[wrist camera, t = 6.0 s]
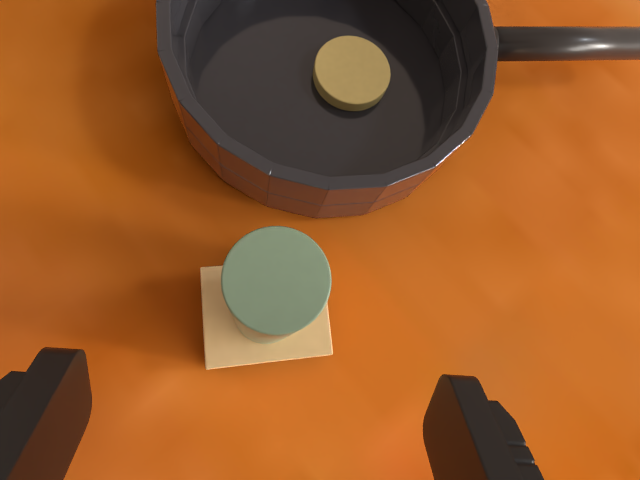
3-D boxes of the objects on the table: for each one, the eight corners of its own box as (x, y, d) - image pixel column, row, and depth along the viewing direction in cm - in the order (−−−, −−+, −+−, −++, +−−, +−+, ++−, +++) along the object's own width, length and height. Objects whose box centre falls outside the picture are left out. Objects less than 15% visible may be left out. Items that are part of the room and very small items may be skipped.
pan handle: (470, 68, 24) (486, 48, 22) (465, 40, 24) (479, 18, 22) (652, 65, 25) (678, 46, 24) (644, 40, 26) (669, 19, 24)
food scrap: (316, 113, 24) (319, 104, 23) (308, 44, 25) (310, 35, 24) (391, 110, 24) (396, 103, 24) (381, 44, 25) (385, 35, 25)
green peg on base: (211, 367, 21) (169, 380, 10) (206, 278, 21) (163, 204, 11) (322, 354, 21) (391, 353, 11) (313, 269, 22) (369, 191, 12)
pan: (180, 230, 22) (162, 199, 18) (168, -39, 25) (150, -120, 21) (479, 210, 24) (528, 178, 20) (431, -32, 28) (464, -104, 23)
